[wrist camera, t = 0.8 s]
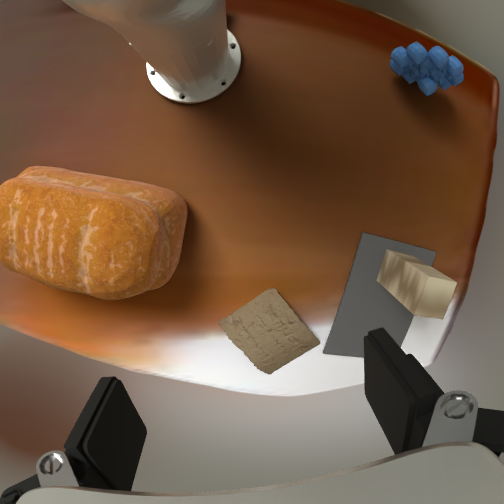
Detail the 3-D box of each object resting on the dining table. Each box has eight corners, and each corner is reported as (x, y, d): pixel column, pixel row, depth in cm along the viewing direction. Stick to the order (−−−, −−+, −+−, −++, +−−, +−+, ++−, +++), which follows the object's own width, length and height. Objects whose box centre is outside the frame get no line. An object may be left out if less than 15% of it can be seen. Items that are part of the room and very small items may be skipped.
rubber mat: (362, 232, 44) (363, 232, 43) (435, 251, 45) (436, 252, 45) (322, 352, 49) (323, 353, 48) (393, 358, 50) (394, 359, 50)
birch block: (386, 249, 44) (428, 276, 32) (412, 255, 44) (457, 282, 33) (376, 280, 45) (414, 315, 34) (402, 285, 46) (442, 319, 34)
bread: (35, 161, 38) (-31, 167, 24) (195, 189, 41) (172, 202, 27) (28, 245, 42) (-32, 275, 27) (177, 283, 45) (152, 337, 30)
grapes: (371, 92, 38) (412, 73, 27) (372, 51, 36) (411, 23, 25) (436, 112, 39) (486, 104, 27) (437, 73, 37) (484, 57, 26)
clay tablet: (215, 318, 47) (214, 327, 44) (269, 278, 45) (271, 285, 43) (273, 376, 50) (274, 386, 48) (323, 342, 49) (327, 352, 46)
